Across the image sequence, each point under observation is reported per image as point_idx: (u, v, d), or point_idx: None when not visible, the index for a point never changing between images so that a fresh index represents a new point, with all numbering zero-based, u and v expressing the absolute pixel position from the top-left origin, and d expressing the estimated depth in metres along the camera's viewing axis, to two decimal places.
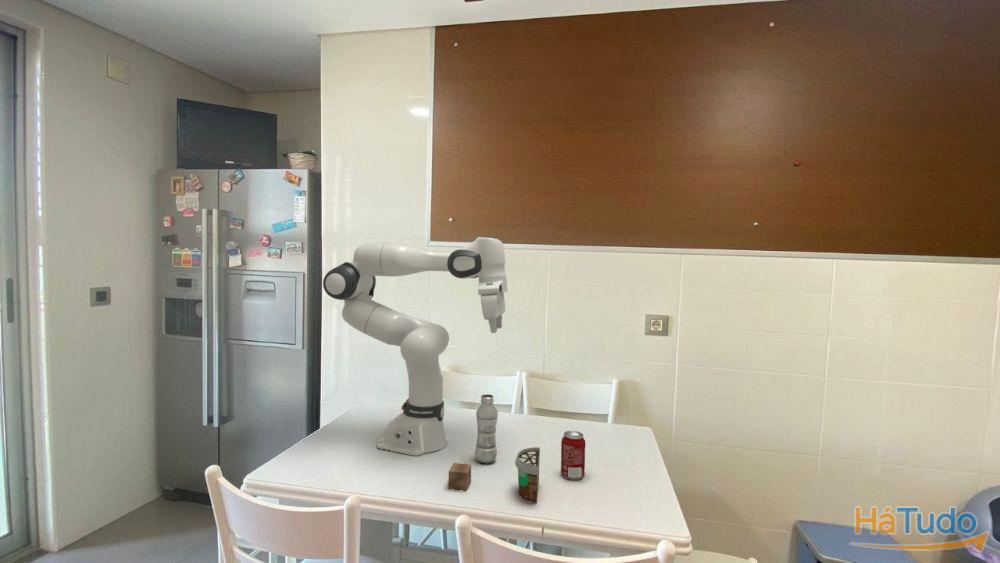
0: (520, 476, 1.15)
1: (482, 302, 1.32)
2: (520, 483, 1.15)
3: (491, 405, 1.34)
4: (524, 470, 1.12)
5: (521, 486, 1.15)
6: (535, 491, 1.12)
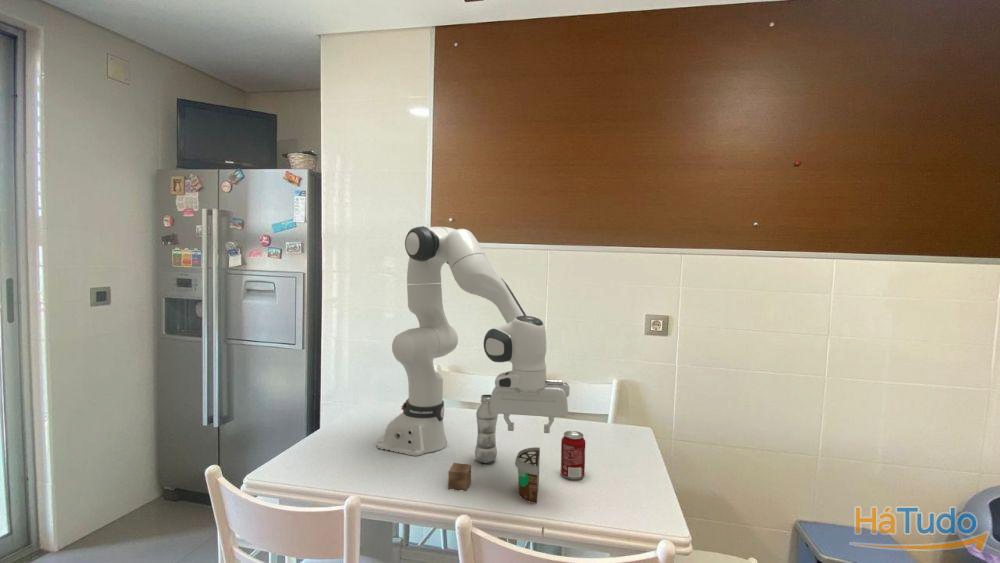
0: (520, 476, 1.15)
1: None
2: (520, 483, 1.15)
3: None
4: (524, 470, 1.12)
5: (521, 486, 1.15)
6: (535, 491, 1.12)
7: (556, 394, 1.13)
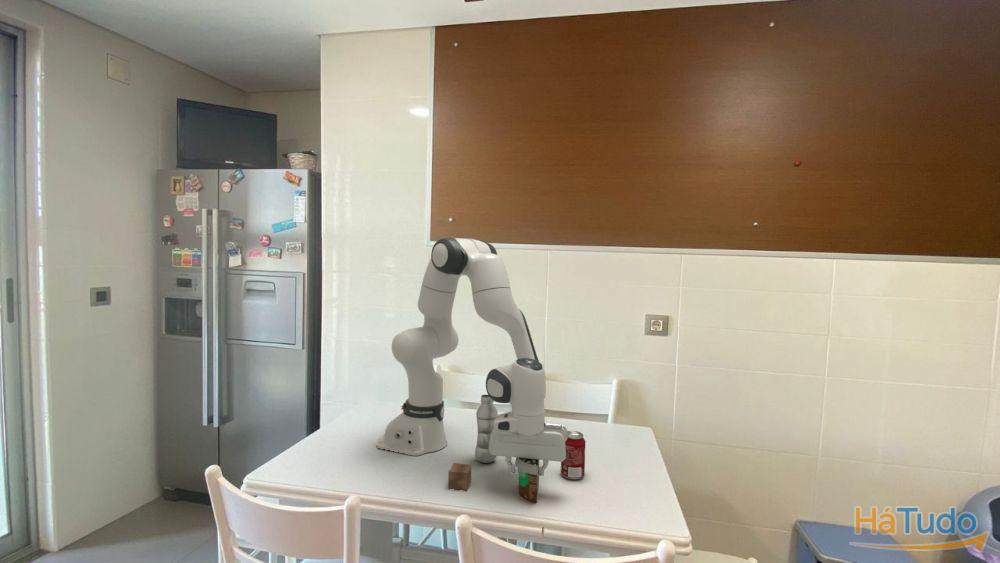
0: (520, 476, 1.15)
1: None
2: (520, 483, 1.15)
3: (491, 405, 1.34)
4: (524, 470, 1.12)
5: (521, 486, 1.15)
6: (535, 491, 1.12)
7: (554, 439, 1.14)
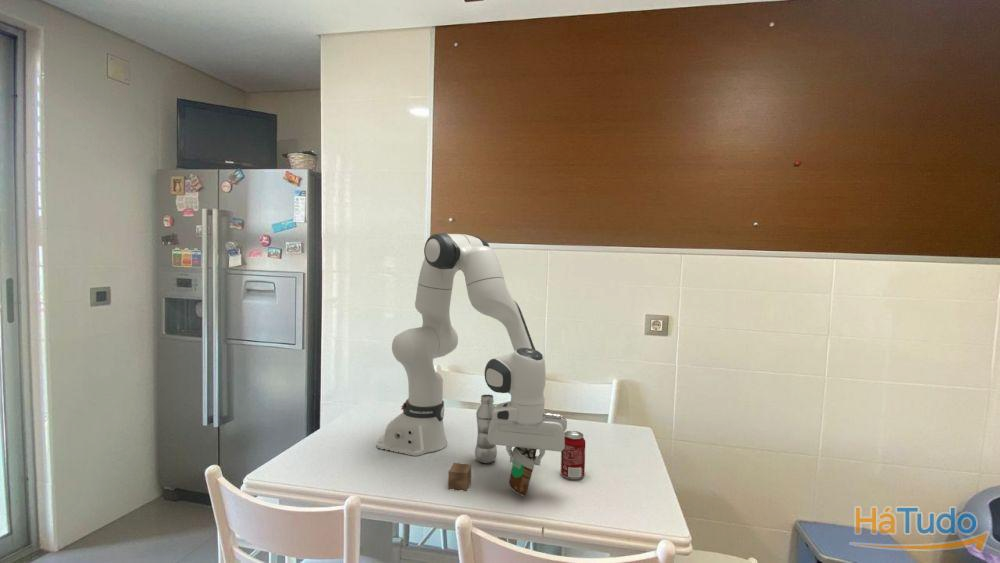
0: (515, 467, 1.15)
1: None
2: (513, 473, 1.16)
3: (491, 405, 1.34)
4: (521, 462, 1.13)
5: (513, 476, 1.15)
6: (526, 485, 1.13)
7: (553, 429, 1.14)
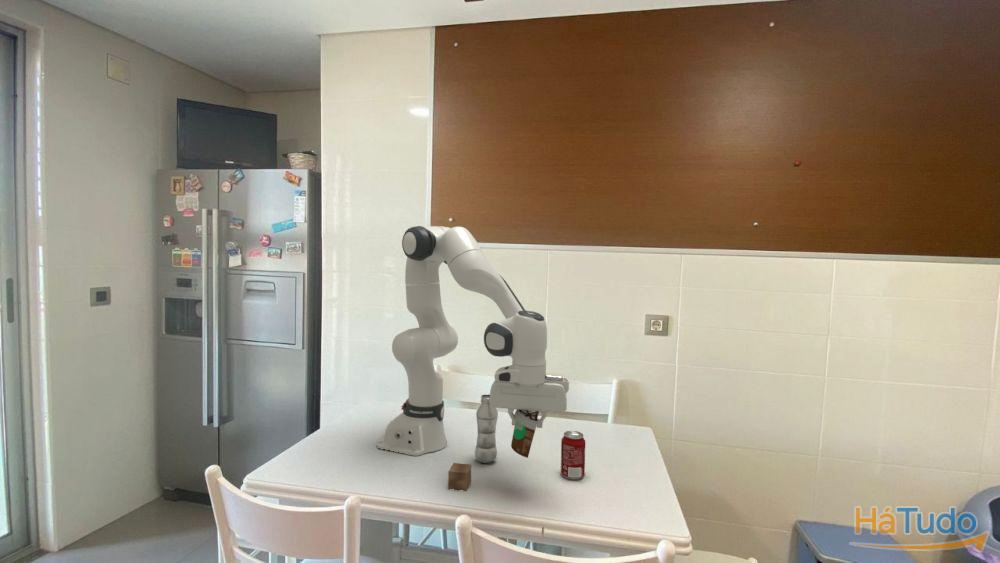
0: (517, 429, 1.14)
1: None
2: (515, 436, 1.15)
3: None
4: (523, 423, 1.12)
5: (515, 438, 1.15)
6: (529, 446, 1.12)
7: (555, 390, 1.14)
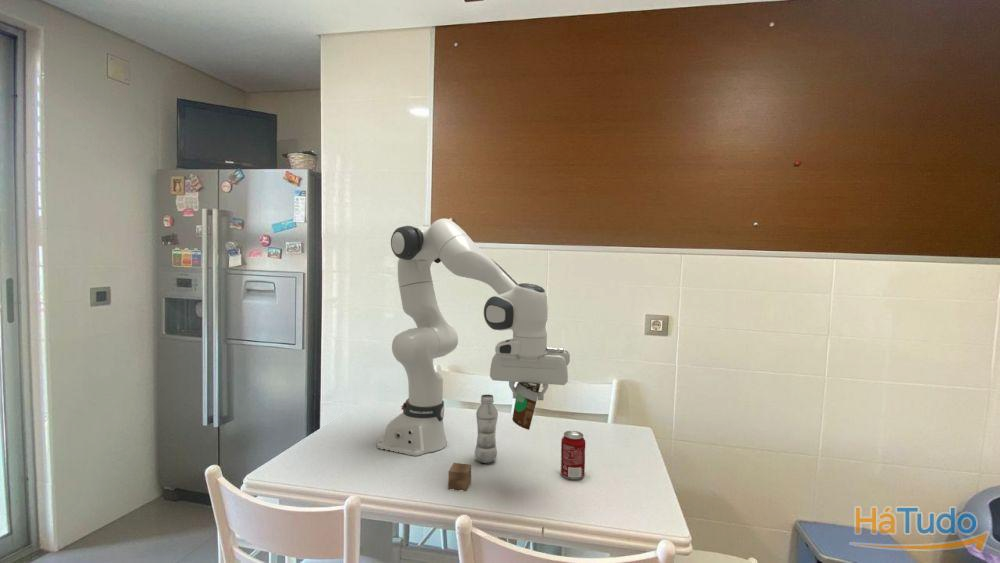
0: (518, 401, 1.14)
1: None
2: (516, 408, 1.15)
3: (491, 405, 1.34)
4: (524, 395, 1.12)
5: (516, 411, 1.14)
6: (530, 418, 1.12)
7: (556, 362, 1.13)
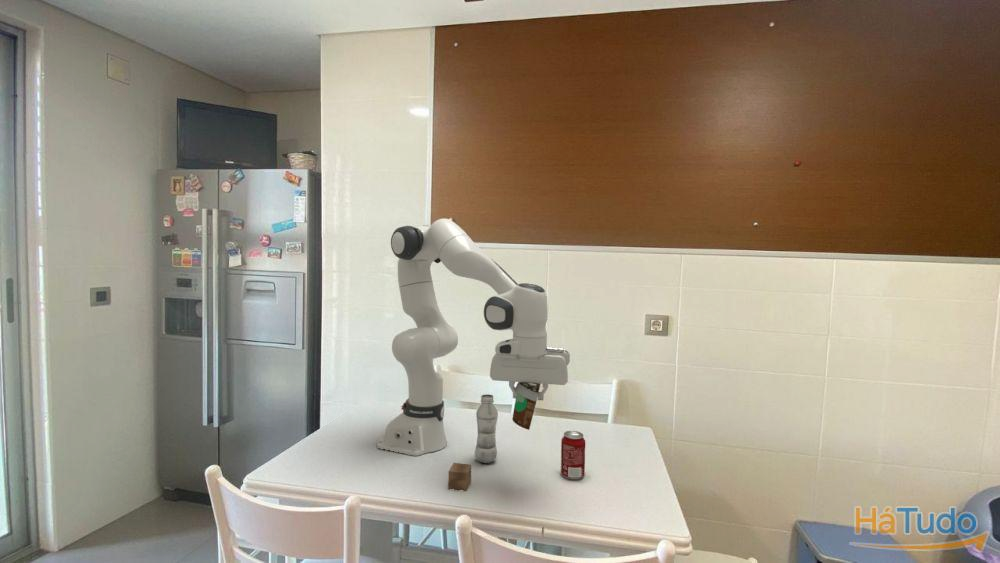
0: (518, 401, 1.14)
1: None
2: (516, 408, 1.15)
3: (491, 405, 1.34)
4: (524, 395, 1.12)
5: (516, 411, 1.14)
6: (530, 418, 1.12)
7: (556, 362, 1.13)
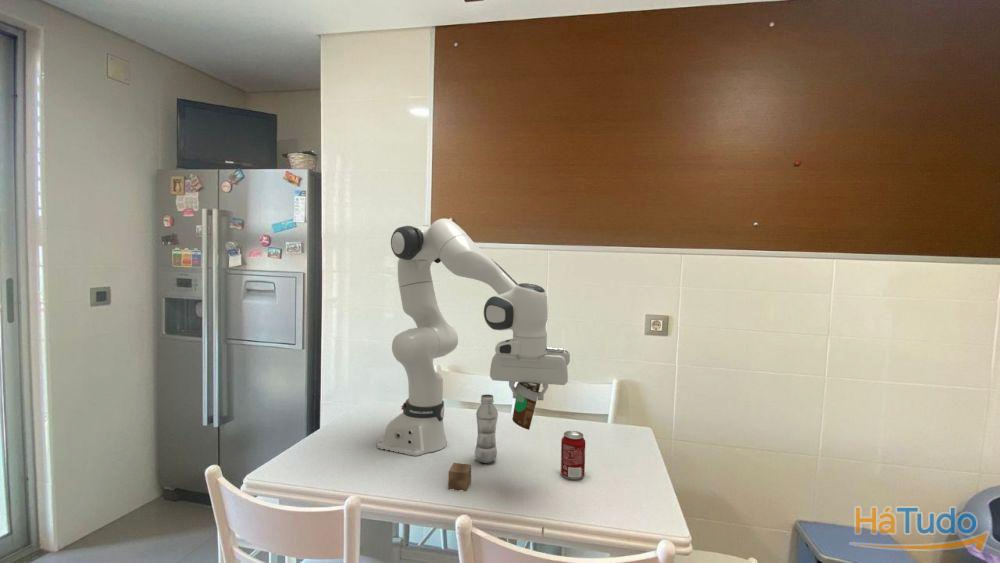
0: (518, 401, 1.14)
1: None
2: (516, 408, 1.15)
3: (491, 405, 1.34)
4: (524, 395, 1.12)
5: (516, 411, 1.14)
6: (530, 418, 1.12)
7: (556, 362, 1.13)
